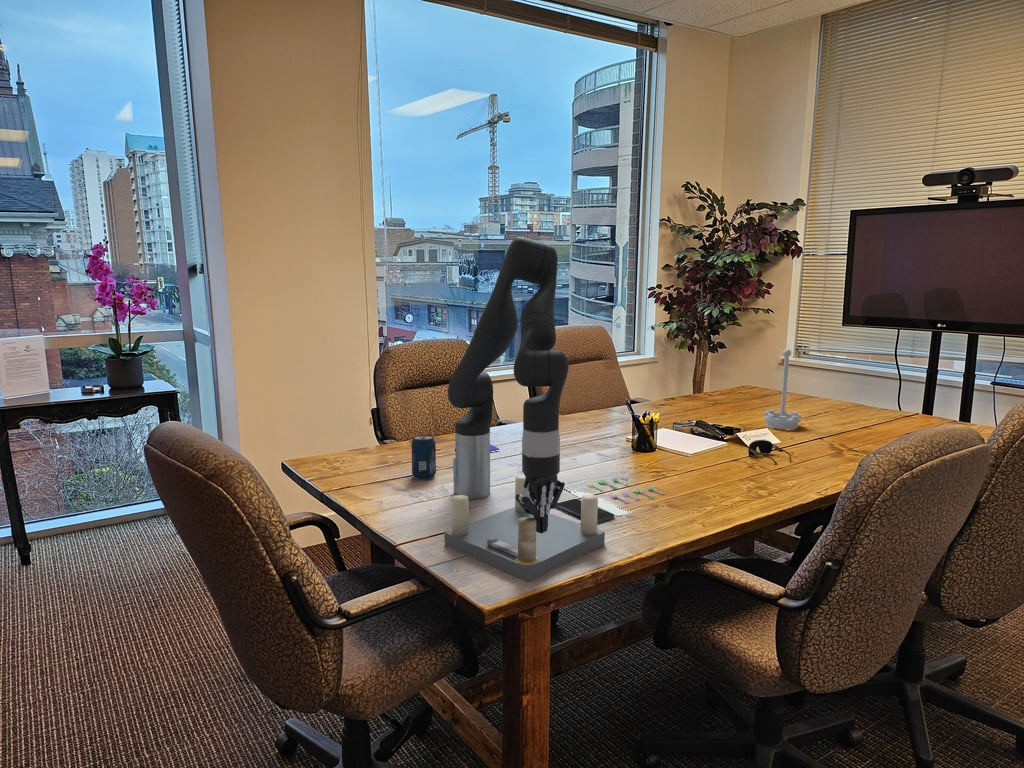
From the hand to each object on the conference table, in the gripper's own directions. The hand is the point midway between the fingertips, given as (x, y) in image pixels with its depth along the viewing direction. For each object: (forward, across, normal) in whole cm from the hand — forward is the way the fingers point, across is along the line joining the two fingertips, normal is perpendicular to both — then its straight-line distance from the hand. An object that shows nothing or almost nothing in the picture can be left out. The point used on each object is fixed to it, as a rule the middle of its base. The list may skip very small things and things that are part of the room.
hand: (540, 531), depth 138 cm
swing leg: (+4, +5, -4) cm, 8 cm away
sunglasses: (+11, -110, +1) cm, 110 cm away
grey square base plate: (+8, -5, -10) cm, 13 cm away
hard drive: (+11, -51, -72) cm, 89 cm away
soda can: (+9, -21, -63) cm, 67 cm away
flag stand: (+12, -155, -13) cm, 156 cm away
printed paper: (+10, -52, -15) cm, 56 cm away
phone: (+9, -30, -12) cm, 34 cm away
